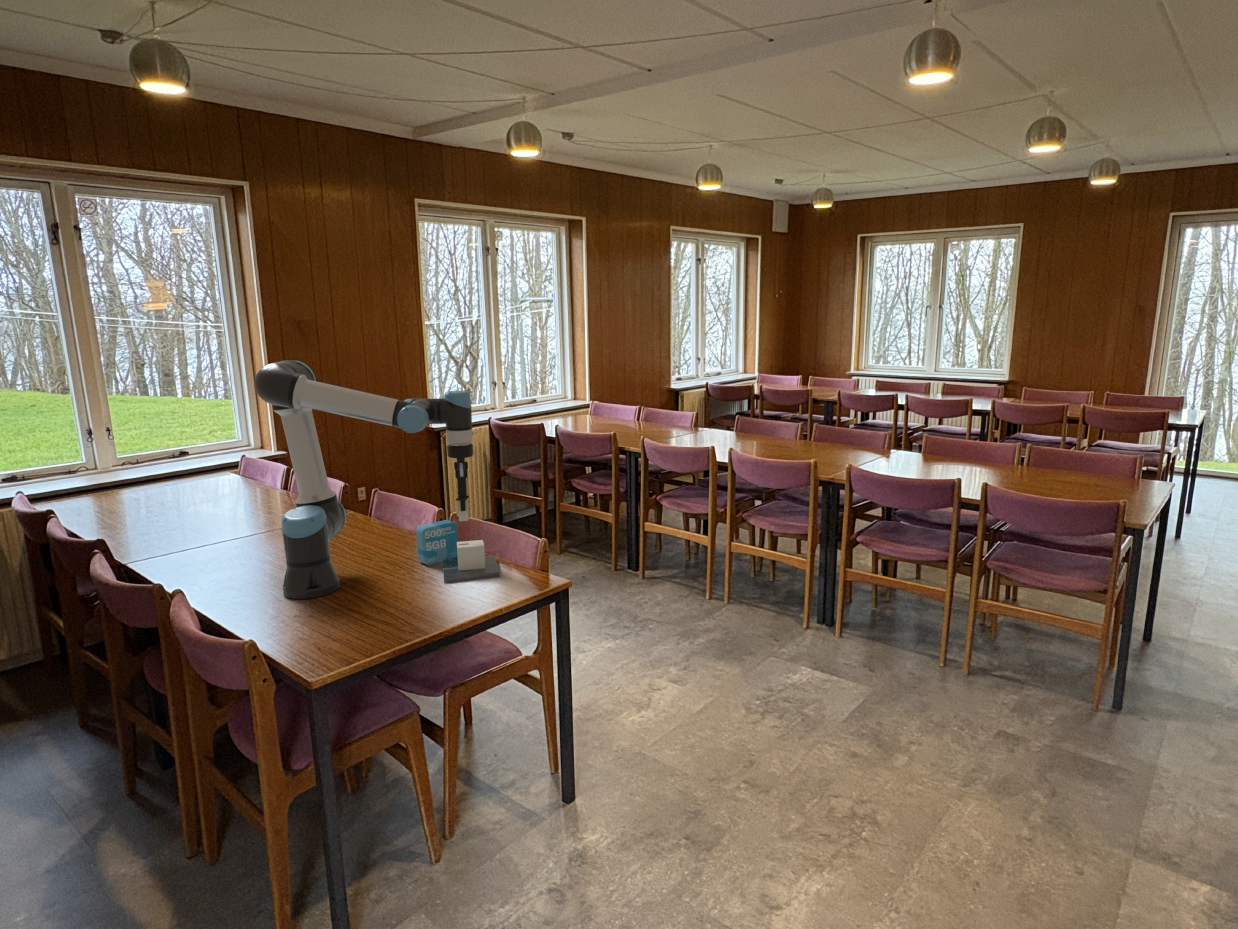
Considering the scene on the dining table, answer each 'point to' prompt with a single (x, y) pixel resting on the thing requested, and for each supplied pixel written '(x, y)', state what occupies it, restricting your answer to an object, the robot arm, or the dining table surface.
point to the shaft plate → (470, 571)
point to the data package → (437, 542)
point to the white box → (471, 555)
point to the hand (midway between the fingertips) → (463, 520)
